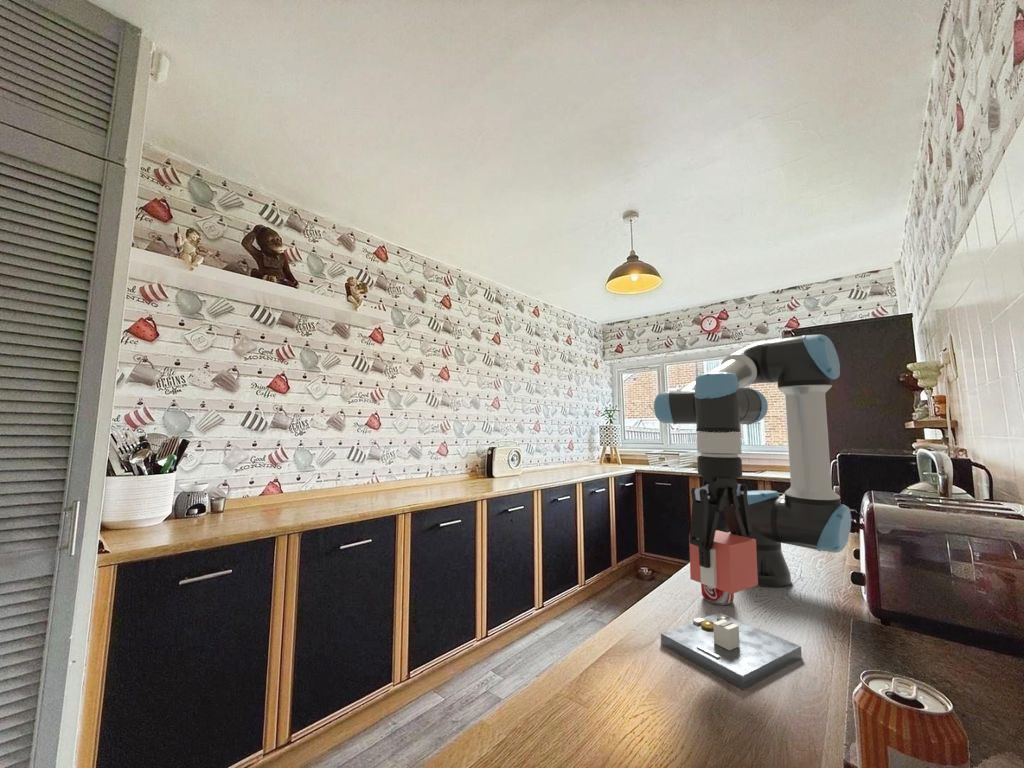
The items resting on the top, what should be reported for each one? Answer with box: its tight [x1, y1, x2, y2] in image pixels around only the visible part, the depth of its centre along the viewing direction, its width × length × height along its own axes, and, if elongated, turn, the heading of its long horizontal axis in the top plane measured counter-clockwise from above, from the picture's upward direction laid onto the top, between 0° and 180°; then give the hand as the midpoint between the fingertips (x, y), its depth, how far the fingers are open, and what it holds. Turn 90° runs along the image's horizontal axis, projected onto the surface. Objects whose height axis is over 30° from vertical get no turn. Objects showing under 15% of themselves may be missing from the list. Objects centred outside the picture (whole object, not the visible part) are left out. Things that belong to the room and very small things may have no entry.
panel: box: [660, 612, 803, 690], centre depth 79 cm, size 18×16×3 cm
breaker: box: [713, 619, 740, 651], centre depth 77 cm, size 3×3×4 cm
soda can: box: [700, 583, 735, 606], centre depth 102 cm, size 7×7×12 cm
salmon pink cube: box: [688, 529, 759, 594], centre depth 78 cm, size 8×8×8 cm
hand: (723, 580), depth 78 cm, fingers closed on salmon pink cube, 8 cm apart
